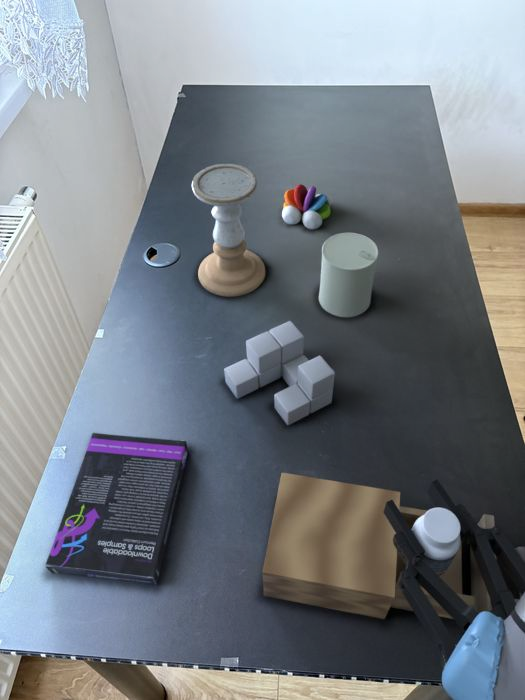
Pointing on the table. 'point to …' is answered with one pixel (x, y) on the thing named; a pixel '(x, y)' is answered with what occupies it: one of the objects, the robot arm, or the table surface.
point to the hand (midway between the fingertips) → (410, 496)
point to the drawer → (451, 573)
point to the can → (347, 274)
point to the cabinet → (332, 546)
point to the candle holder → (228, 231)
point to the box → (120, 509)
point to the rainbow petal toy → (305, 207)
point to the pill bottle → (438, 538)
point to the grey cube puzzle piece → (283, 372)
